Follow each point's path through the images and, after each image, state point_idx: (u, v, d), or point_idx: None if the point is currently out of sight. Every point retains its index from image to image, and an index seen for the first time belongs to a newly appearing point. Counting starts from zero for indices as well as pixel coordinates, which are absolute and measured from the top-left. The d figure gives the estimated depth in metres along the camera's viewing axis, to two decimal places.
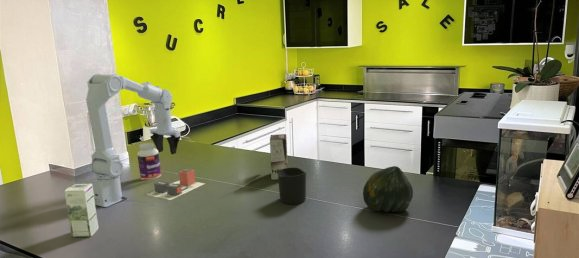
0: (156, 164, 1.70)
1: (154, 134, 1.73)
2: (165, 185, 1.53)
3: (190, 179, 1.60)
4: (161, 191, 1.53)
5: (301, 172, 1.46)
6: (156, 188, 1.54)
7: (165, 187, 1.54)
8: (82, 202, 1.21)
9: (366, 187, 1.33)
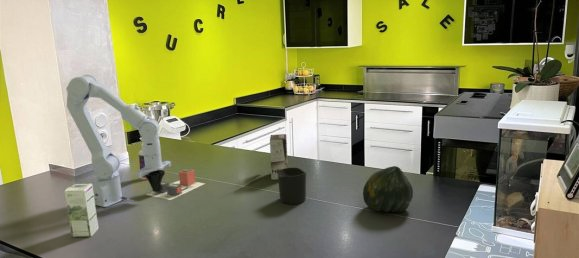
0: None
1: None
2: (165, 185, 1.54)
3: (190, 179, 1.60)
4: (161, 191, 1.53)
5: (301, 172, 1.46)
6: None
7: (165, 187, 1.54)
8: (82, 202, 1.21)
9: (366, 187, 1.33)
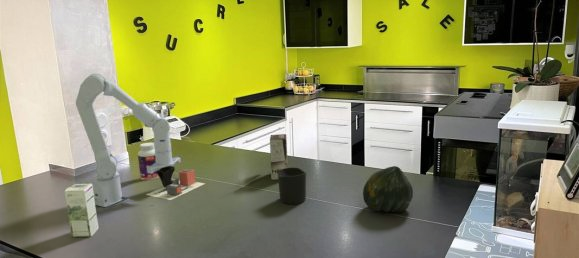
0: None
1: None
2: (175, 181, 1.58)
3: (190, 179, 1.60)
4: None
5: (301, 172, 1.46)
6: None
7: (175, 182, 1.58)
8: (82, 202, 1.21)
9: (366, 187, 1.33)
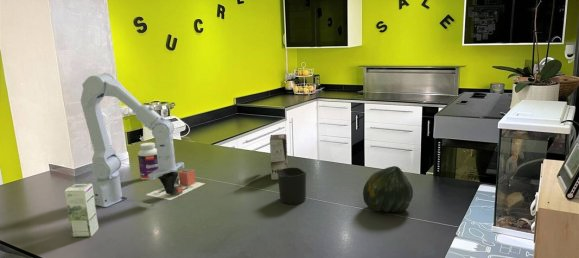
0: (156, 164, 1.70)
1: None
2: (175, 181, 1.58)
3: (190, 179, 1.60)
4: None
5: (301, 172, 1.46)
6: None
7: (175, 182, 1.58)
8: (82, 202, 1.21)
9: (366, 187, 1.33)
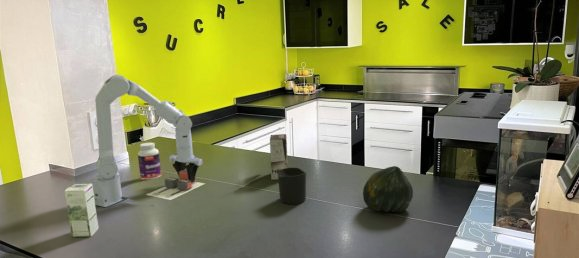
0: (155, 164, 1.70)
1: None
2: (175, 181, 1.58)
3: None
4: (171, 187, 1.57)
5: (301, 172, 1.46)
6: (166, 183, 1.58)
7: (175, 182, 1.58)
8: (82, 202, 1.21)
9: (366, 187, 1.33)
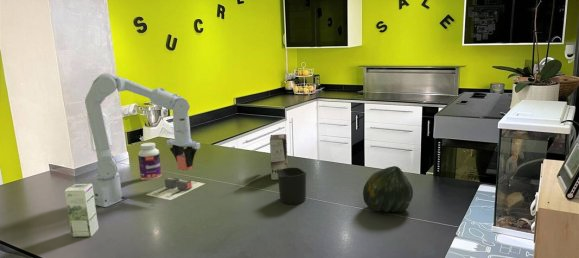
0: (156, 165, 1.69)
1: None
2: (175, 181, 1.58)
3: None
4: (171, 187, 1.57)
5: (301, 172, 1.46)
6: (166, 183, 1.58)
7: (175, 182, 1.58)
8: (82, 202, 1.21)
9: (366, 187, 1.33)
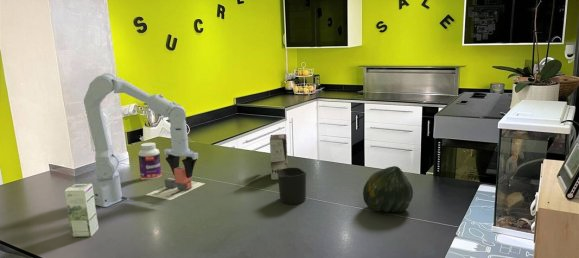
0: (156, 165, 1.70)
1: (168, 155, 1.55)
2: None
3: None
4: (171, 187, 1.57)
5: (301, 172, 1.46)
6: (166, 183, 1.58)
7: (175, 182, 1.58)
8: (82, 202, 1.21)
9: (366, 187, 1.33)
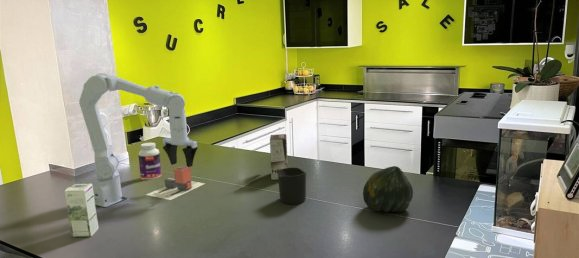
0: (156, 165, 1.70)
1: (167, 144, 1.54)
2: None
3: (186, 176, 1.54)
4: (171, 187, 1.57)
5: (301, 172, 1.46)
6: (166, 183, 1.58)
7: (175, 182, 1.58)
8: (82, 202, 1.21)
9: (366, 187, 1.33)
